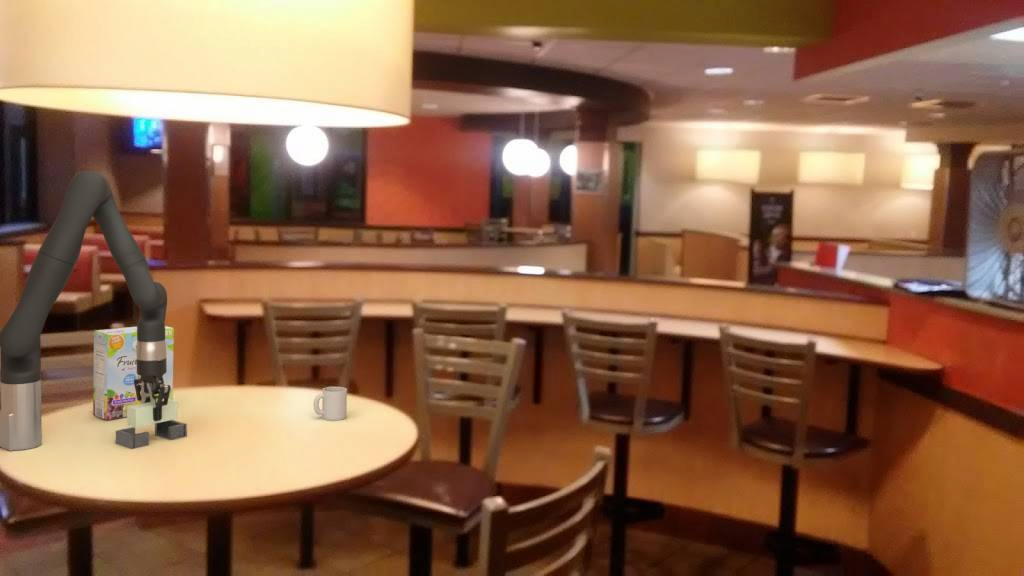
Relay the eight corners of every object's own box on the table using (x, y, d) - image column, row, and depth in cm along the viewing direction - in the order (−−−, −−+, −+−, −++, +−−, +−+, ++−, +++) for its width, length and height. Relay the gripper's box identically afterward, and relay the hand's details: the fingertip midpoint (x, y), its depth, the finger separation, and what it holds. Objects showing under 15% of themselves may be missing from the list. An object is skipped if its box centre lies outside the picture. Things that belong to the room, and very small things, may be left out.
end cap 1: (131, 449, 238) (131, 436, 238) (115, 443, 243) (115, 430, 242) (148, 445, 242) (148, 432, 242) (133, 439, 247) (133, 427, 246)
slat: (135, 427, 241) (135, 409, 240) (127, 424, 243) (127, 406, 242) (177, 418, 251) (177, 400, 250) (168, 416, 253) (168, 398, 253)
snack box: (107, 422, 263) (106, 334, 260) (91, 416, 268) (90, 330, 265) (175, 409, 280) (174, 326, 277) (159, 404, 286) (158, 323, 283)
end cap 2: (170, 431, 256) (170, 419, 256) (186, 436, 252) (186, 424, 251) (154, 434, 252) (154, 422, 252) (170, 440, 248) (170, 427, 247)
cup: (348, 420, 275) (349, 391, 274) (315, 422, 271) (316, 393, 270) (343, 414, 282) (343, 386, 281) (310, 416, 278) (311, 387, 277)
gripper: (123, 354, 246) (124, 417, 248) (154, 362, 238) (155, 426, 240) (148, 351, 252) (149, 411, 254) (179, 358, 244) (180, 421, 246)
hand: (152, 418), depth 247 cm, fingers closed on slat, 4 cm apart
